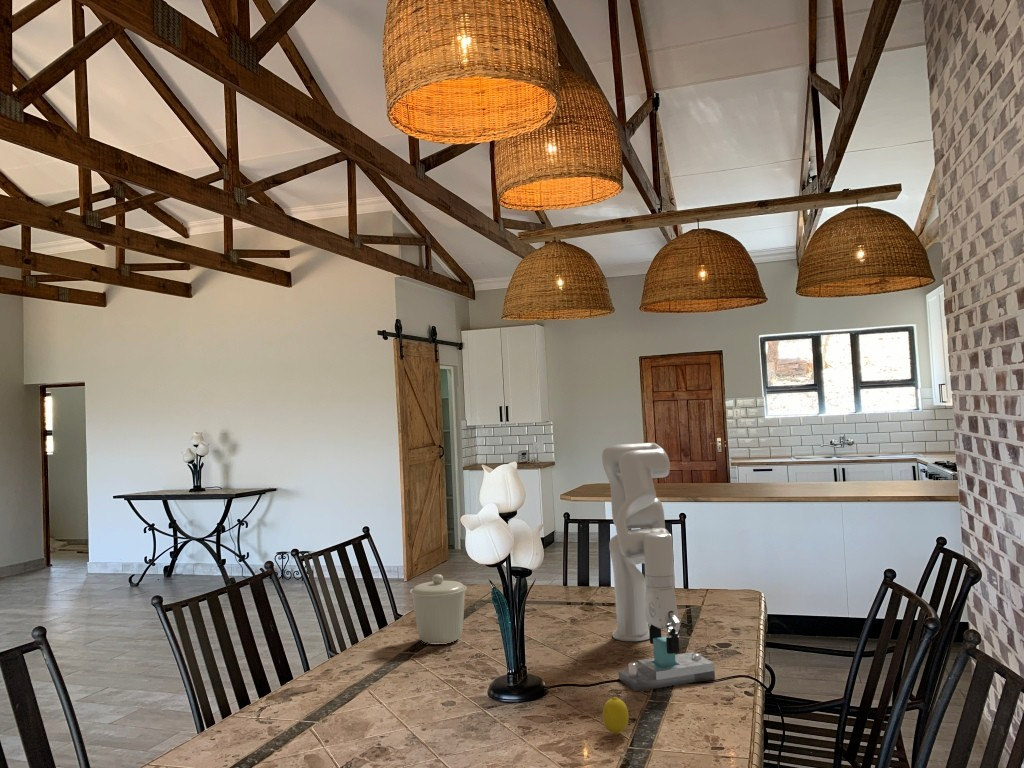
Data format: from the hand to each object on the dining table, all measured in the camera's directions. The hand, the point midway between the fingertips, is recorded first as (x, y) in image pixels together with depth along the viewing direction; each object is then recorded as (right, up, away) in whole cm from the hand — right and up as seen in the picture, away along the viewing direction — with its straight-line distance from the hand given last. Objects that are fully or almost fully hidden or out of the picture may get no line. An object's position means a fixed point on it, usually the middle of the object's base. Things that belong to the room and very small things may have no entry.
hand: (664, 647), depth 205 cm
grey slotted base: (0, -8, 0) cm, 8 cm away
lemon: (-17, -7, -35) cm, 39 cm away
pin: (0, -8, 0) cm, 8 cm away
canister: (-62, -14, +47) cm, 79 cm away
